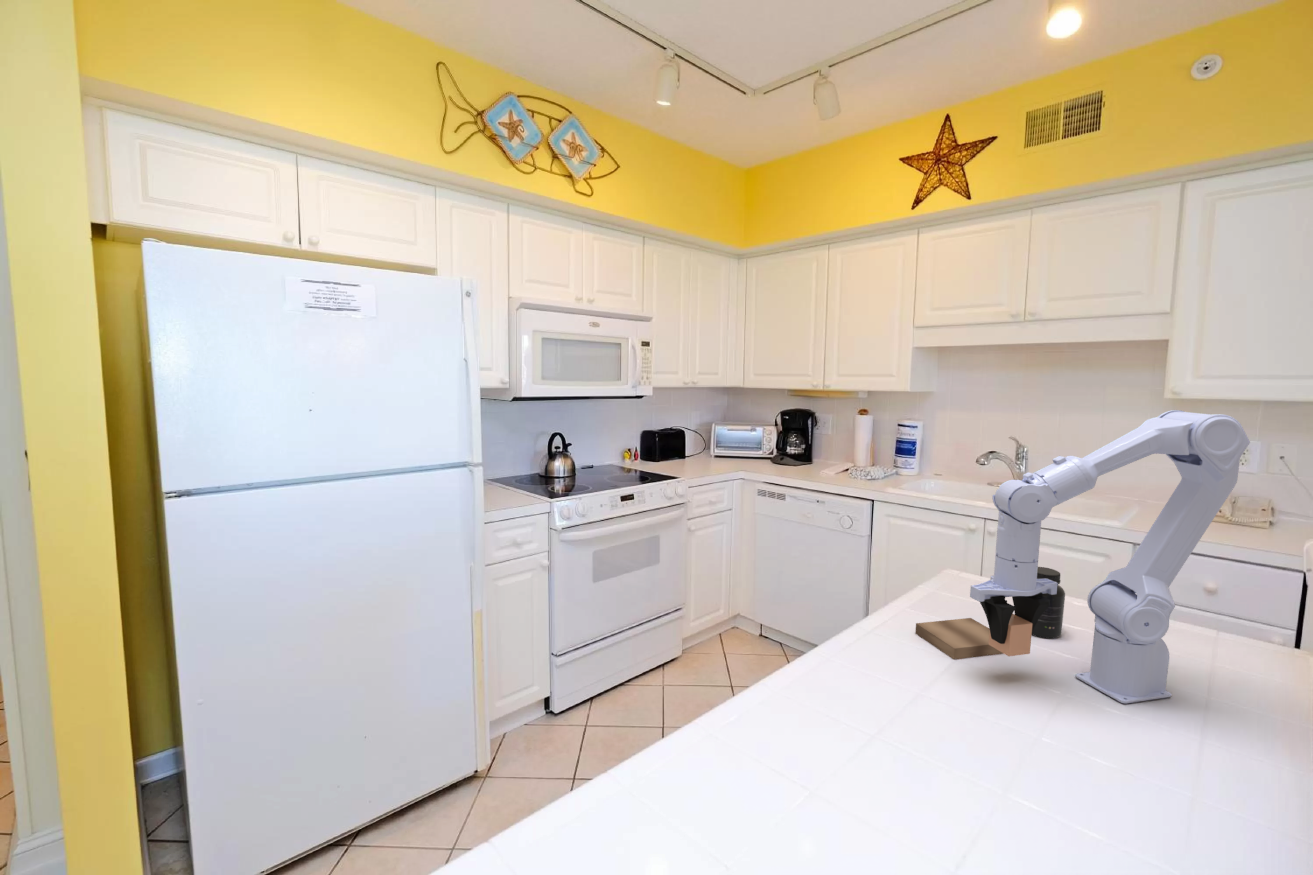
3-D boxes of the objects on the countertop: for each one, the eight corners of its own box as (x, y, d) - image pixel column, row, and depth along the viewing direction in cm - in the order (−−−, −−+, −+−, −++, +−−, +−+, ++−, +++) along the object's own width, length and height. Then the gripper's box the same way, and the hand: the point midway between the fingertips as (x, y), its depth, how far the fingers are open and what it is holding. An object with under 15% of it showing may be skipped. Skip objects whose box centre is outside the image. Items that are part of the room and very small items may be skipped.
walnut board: (969, 630, 111) (970, 617, 111) (1012, 655, 101) (1013, 641, 101) (915, 635, 108) (916, 623, 108) (953, 662, 99) (954, 648, 98)
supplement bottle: (1011, 622, 113) (1016, 563, 112) (1049, 624, 113) (1054, 565, 111) (1029, 638, 107) (1034, 575, 105) (1069, 640, 106) (1075, 577, 104)
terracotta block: (1009, 642, 94) (1011, 612, 94) (1029, 653, 91) (1032, 623, 90) (988, 644, 94) (990, 615, 93) (1008, 656, 90) (1011, 625, 89)
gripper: (1033, 546, 96) (1026, 624, 97) (958, 552, 93) (952, 632, 94) (1072, 560, 89) (1064, 643, 90) (992, 566, 86) (986, 653, 87)
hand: (1010, 639), depth 92 cm, fingers closed on terracotta block, 4 cm apart
